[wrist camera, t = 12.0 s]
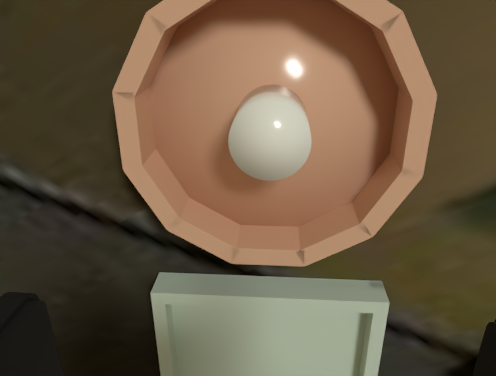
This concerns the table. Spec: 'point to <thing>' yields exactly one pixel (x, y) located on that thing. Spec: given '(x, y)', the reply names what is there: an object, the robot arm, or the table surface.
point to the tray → (268, 325)
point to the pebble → (270, 133)
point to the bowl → (318, 112)
